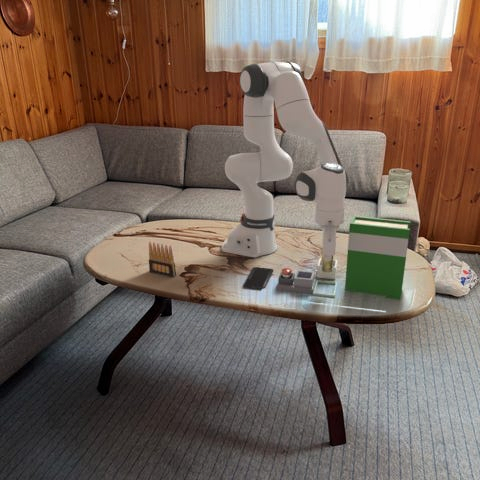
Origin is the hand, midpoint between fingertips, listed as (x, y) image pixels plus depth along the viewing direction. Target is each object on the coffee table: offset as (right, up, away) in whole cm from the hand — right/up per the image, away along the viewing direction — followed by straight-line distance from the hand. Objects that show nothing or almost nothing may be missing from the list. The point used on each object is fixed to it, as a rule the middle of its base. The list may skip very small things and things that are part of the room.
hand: (327, 257), depth 148 cm
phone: (-22, -9, +14) cm, 27 cm away
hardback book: (+16, -11, +5) cm, 20 cm away
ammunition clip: (-56, -7, +20) cm, 60 cm away
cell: (0, -4, +2) cm, 5 cm away
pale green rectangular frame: (0, -11, +5) cm, 12 cm away
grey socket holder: (-9, -11, +8) cm, 16 cm away
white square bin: (+3, -7, +15) cm, 17 cm away
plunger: (-12, -8, +7) cm, 16 cm away
